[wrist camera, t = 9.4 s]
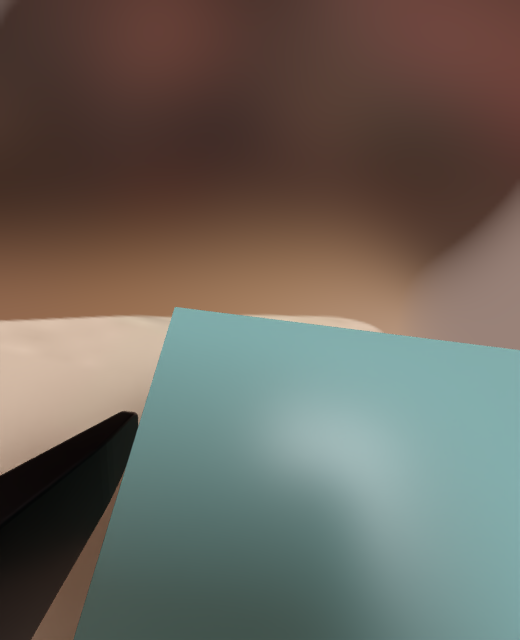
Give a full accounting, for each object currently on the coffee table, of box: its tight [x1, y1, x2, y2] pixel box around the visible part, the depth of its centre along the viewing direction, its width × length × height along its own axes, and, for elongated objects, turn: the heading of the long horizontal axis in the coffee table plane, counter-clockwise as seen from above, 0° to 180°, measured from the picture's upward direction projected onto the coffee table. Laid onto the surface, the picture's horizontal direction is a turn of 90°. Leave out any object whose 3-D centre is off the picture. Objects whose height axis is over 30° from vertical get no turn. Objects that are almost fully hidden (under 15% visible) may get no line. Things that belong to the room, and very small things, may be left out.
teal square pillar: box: [74, 307, 520, 640], centre depth 8 cm, size 5×5×12 cm
